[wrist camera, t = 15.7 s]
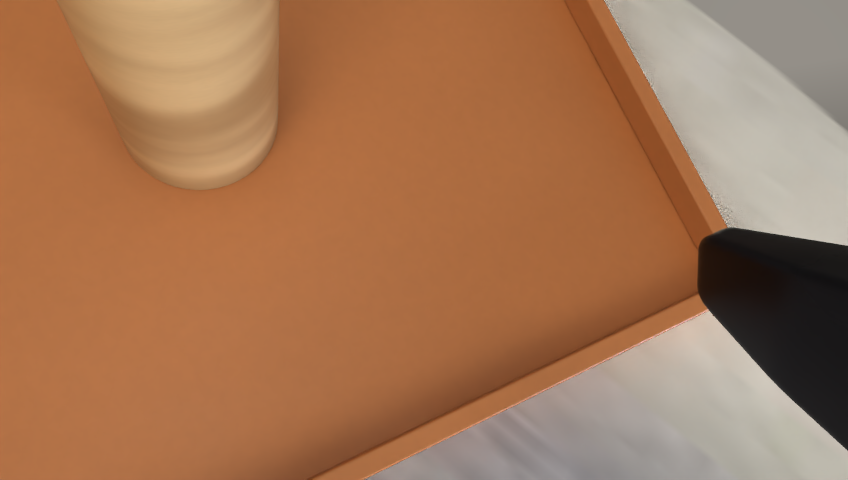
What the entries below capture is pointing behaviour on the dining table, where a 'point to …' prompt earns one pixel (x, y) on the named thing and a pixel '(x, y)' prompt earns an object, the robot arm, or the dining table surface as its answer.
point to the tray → (335, 245)
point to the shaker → (185, 82)
